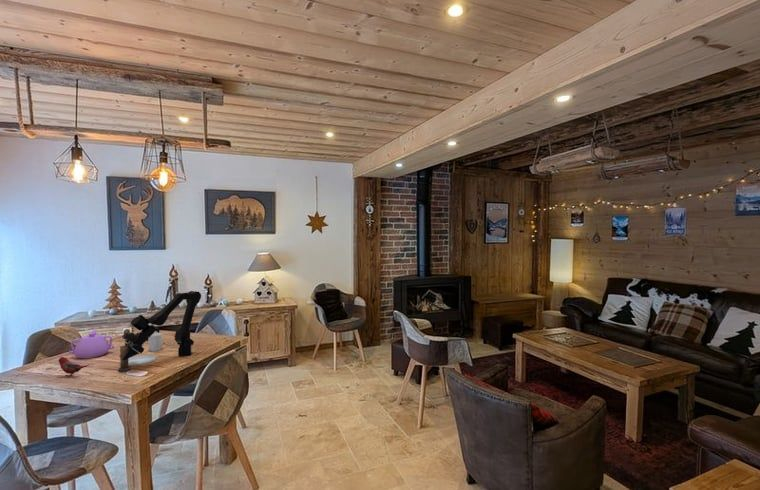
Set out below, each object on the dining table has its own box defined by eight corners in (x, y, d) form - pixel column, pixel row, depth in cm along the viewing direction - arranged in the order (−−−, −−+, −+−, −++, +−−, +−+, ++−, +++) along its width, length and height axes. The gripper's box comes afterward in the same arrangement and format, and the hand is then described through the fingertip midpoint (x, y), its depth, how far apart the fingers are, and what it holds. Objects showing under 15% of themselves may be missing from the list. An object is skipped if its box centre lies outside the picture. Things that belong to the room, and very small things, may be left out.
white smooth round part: (159, 354, 226) (159, 353, 226) (152, 364, 209) (152, 362, 209) (125, 358, 220) (125, 356, 220) (115, 367, 203) (115, 366, 203)
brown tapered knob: (131, 367, 203) (131, 344, 203) (129, 371, 198) (128, 347, 197) (120, 369, 201) (119, 345, 201) (116, 372, 196) (116, 348, 195)
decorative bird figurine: (60, 374, 192) (60, 355, 192) (91, 376, 190) (91, 357, 190) (55, 376, 189) (55, 357, 189) (86, 378, 187) (86, 358, 187)
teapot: (115, 347, 242) (115, 326, 241) (113, 356, 223) (113, 333, 223) (72, 353, 230) (72, 331, 229) (66, 362, 211) (66, 338, 211)
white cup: (155, 352, 232) (155, 336, 232) (144, 351, 233) (144, 335, 233) (165, 348, 239) (164, 333, 239) (154, 347, 241) (154, 332, 241)
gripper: (129, 323, 208) (105, 346, 201) (137, 329, 195) (111, 354, 187) (145, 334, 214) (122, 357, 206) (153, 340, 201) (130, 365, 193)
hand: (121, 358), depth 198 cm, fingers open, 7 cm apart
